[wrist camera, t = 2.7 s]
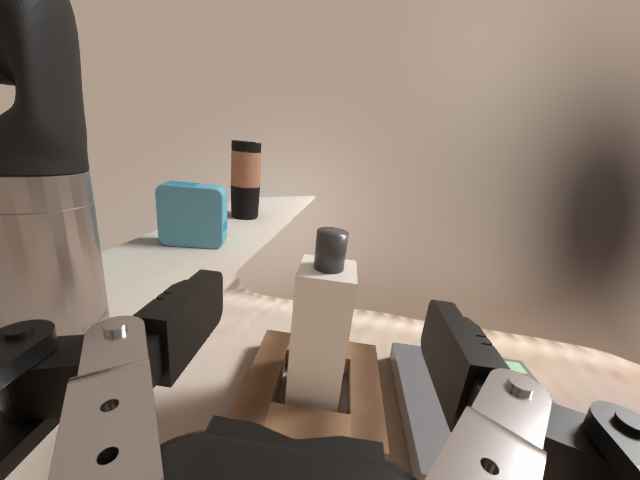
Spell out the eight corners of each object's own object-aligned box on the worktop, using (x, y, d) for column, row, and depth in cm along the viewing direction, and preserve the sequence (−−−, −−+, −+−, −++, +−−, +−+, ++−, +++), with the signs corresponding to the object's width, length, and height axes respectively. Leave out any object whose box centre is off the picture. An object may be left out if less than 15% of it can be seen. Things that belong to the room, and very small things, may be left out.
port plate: (415, 493, 21) (423, 467, 20) (389, 357, 34) (393, 337, 33) (626, 530, 20) (643, 504, 19) (516, 375, 33) (523, 356, 32)
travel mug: (226, 217, 81) (226, 140, 75) (236, 211, 88) (238, 140, 82) (253, 221, 80) (256, 143, 74) (262, 215, 88) (265, 143, 81)
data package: (227, 242, 64) (227, 185, 60) (222, 249, 59) (222, 189, 55) (167, 238, 62) (164, 180, 58) (158, 245, 58) (154, 183, 54)
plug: (283, 412, 26) (299, 236, 21) (293, 374, 30) (307, 220, 25) (335, 420, 26) (363, 244, 21) (337, 381, 30) (361, 227, 25)
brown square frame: (224, 446, 22) (224, 426, 22) (266, 344, 34) (267, 329, 33) (385, 473, 22) (389, 454, 21) (372, 360, 33) (375, 345, 33)
